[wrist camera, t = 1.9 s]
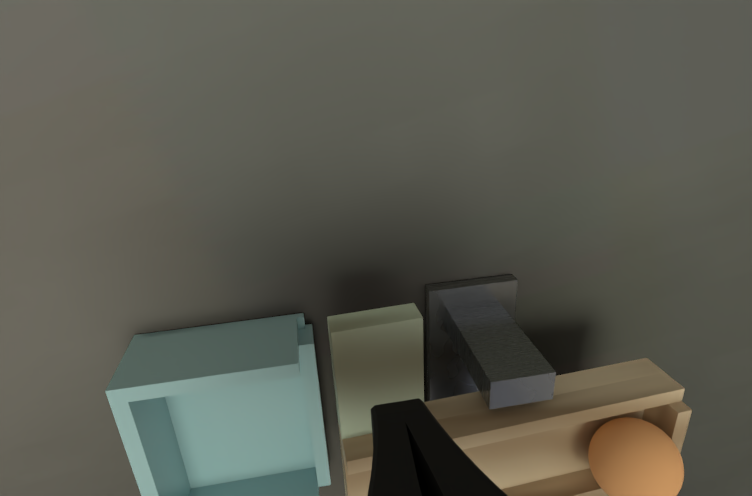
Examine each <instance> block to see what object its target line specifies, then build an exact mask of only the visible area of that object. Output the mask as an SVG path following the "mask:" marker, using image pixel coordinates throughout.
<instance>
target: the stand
mask: <svg viewBox="0 0 752 496" xmlns="http://www.w3.org/2000/svg"><path fill="white" fill-rule="evenodd" d="M517 283H518V280H517V279H516V278H515V277H514V276H513V275H512V274H509V275H501V276H493V277H485V278H478V279H470V280H462V281H454V282H446V283H438V284H430V285H426V368H427V401H432V400H437V399H442V398H447V397H452V396H457V395H462V394H467V393H472V392H477V391H479V392H480V393H481V395H482V397H483V399H484V401H485V402H486V404H487V406H488V408H489V410H490V409H496V408H502V407H508V406H514V405H520V404H526V403H532V402H539V401H545V400H551V399H553V394H554V386H555V377H556V371H555V370H554V369H553V368H552V366H551V365H550V364H549V363H548V362H547V360H546V359H545V358H544V357H543V355H542V354H541V353H540V352H539V350H538V349H537V348H536V347H535V346H534V344H533V343H532V342H531V341H530V339H529V338H528V337H527V336H526V335H525V333H524V332H523V331H522V330H521V328H520V327H519V326H518V325H517V323H516V322H515V310H516V297H517Z"/></svg>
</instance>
